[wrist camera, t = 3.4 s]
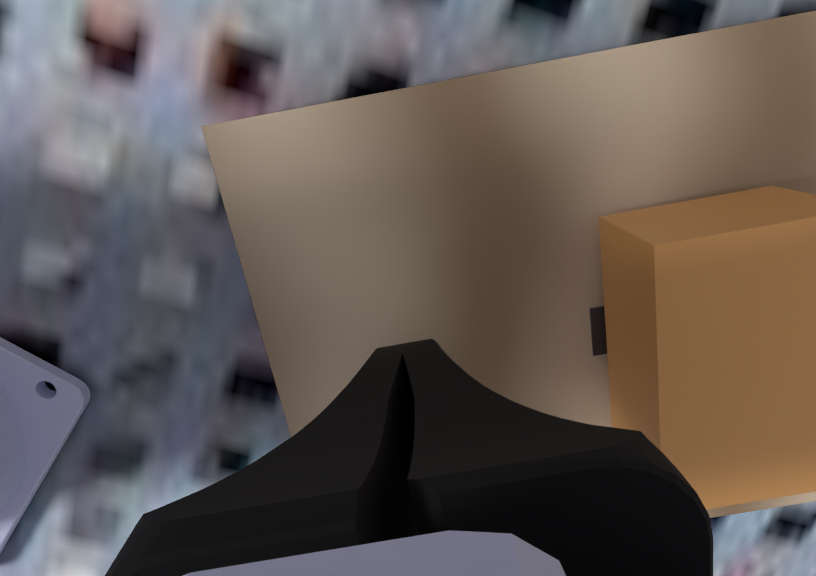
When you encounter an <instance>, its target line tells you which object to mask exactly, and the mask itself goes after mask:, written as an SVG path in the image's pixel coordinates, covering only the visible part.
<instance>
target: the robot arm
mask: <svg viewBox="0 0 816 576" xmlns="http://www.w3.org/2000/svg"><path fill="white" fill-rule="evenodd" d="M45 381H47V382H50V383H51V384H53V385H54V386H55V388H56V391H53V390H50V389H49V388H48V387H47V386H46V384H45ZM89 400H90V390H89V388H88V387H87V385H86V384H85V383H84V382H82V381H81V380H80V379H78V378H76V377H74V376H72V375H71V374H69V373H67V372H65V371H63V370H61V369H59V368H57V367H56V366H54V365H52V364H50V363H48V362H46V361H44V360H42V359H40V358H39V357H37V356H35V355H33V354H31V353H29V352H27V351H25V350H23V349H22V348H20V347H18V346H16V345H14V344H12V343H10V342H8V341H7V340H5V339H3V338H1V337H0V553H1V552H2V550H3V548H4V546H5V545H6V543H7V541H8V540H9V538H10V536H11V534H12V533H13V531H14V529H15V528H16V526H17V524H18V522H19V521H20V519H21V517H22V516H23V514H24V512H25V510H26V509H27V507H28V505H29V504H30V502H31V500H32V498H33V497H34V495H35V493H36V492H37V490H38V488H39V486H40V485H41V483H42V481H43V480H44V478H45V476H46V474H47V473H48V471H49V469H50V468H51V466H52V464H53V463H54V461H55V459H56V457H57V456H58V454H59V452H60V451H61V449H62V447H63V445H64V444H65V442H66V440H67V439H68V437H69V435H70V433H71V432H72V430H73V428H74V427H75V425H76V423H77V421H78V420H79V418H80V416H81V415H82V413H83V411H84V409H85V408H86V406H87V404H88V403H89ZM105 576H713V535H712V529H711V523H710V517H709V514H708V512H707V510H706V508H705V507H704V505H703V503H702V501H701V499H700V498H699V496H698V494H697V493H696V491H695V490H694V489H693V487H692V486H691V485H690V484H689V482H688V481H687V480H686V479H685V477H684V476H683V475H682V474H681V472H680V471H679V470H678V469H677V468H676V467H675V466H674V465H673V463H672V462H671V461H670V460H669V459H668V458H667V457H666V456H665V455H664V454H663V453H662V452H661V451H660V450H659V449H658V448H657V447H656V446H655V445H654V444H653V443H652V442H651V441H650V440H649V439H648V438H647V437H646V436H645V435H644V434H643V433H642V432H641V431H636V430H629V429H621V428H613V427H605V426H597V425H590V424H585V423H581V422H576V421H572V420H568V419H563V418H559V417H556V416H552V415H549V414H545V413H542V412H540V411H537V410H534V409H531V408H529V407H526V406H523V405H521V404H518V403H516V402H514V401H511V400H509V399H507V398H505V397H503V396H502V395H500V394H498V393H496V392H494V391H492V390H490V389H488V388H487V387H485V386H484V385H482V384H481V383H480V382H478V381H477V380H475V379H474V378H473V377H471V376H470V375H469V374H468V373H466V372H465V371H464V370H463V369H462V368H461V367H460V366H458V365H457V364H456V363H455V362H454V361H453V360H452V359H451V358H450V357H449V356H448V355H447V354H446V353H445V352H444V351H443V350H442V348H441V347H440V346H439V344H438V343H437V342H436V341H435V340H433V339H426V340H420V341H415V342H409V343H403V344H397V345H392V346H386V347H380V348H376V349H375V351H374V352H373V353H372V354H371V356H370V357H369V358H368V360H367V361H366V362H365V364H364V365H363V366H362V367H361V369H360V370H359V371H358V373H357V374H356V375H355V376H354V377H353V379H352V380H351V381H350V382H349V384H348V385H347V386H346V387H345V388H344V389H343V390H342V391H341V392H340V393H339V394H338V395H337V397H336V398H335V399H334V400H333V401H332V402H331V403H330V404H329V405H328V406H327V407H326V408H325V409H324V410H323V411H322V412H321V413H320V414H319V415H318V416H317V417H315V418H314V419H313V420H312V421H311V422H310V423H309V424H307V425H306V426H305V427H304V428H302V429H301V430H300V431H299V432H298V433H296V434H295V435H294V436H292V437H291V438H290V439H288V440H287V441H285V442H284V443H282V444H281V445H279V446H278V447H276V448H275V449H273V450H272V451H270V452H269V453H267V454H266V455H264V456H263V457H261V458H260V459H258V460H257V461H255V462H253V463H252V464H250V465H248V466H246V467H245V468H243V469H241V470H239V471H238V472H236V473H234V474H232V475H230V476H228V477H226V478H224V479H223V480H221V481H219V482H217V483H215V484H213V485H211V486H209V487H207V488H204V489H202V490H200V491H198V492H196V493H193V494H191V495H189V496H186V497H184V498H182V499H179V500H177V501H174V502H172V503H170V504H167V505H165V506H163V507H160V508H158V509H156V510H153V511H150V512H148V513H145V514H143V516H142V517H141V519H140V520H139V522H138V523H137V525H136V526H135V528H134V529H133V531H132V533H131V534H130V536H129V538H128V539H127V541H126V542H125V544H124V546H123V547H122V549H121V551H120V552H119V554H118V555H117V557H116V559H115V560H114V562H113V563H112V565H111V567H110V568H109V570H108V572H107V573H106V575H105Z"/></svg>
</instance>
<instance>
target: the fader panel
mask: <svg viewBox="0 0 816 576" xmlns="http://www.w3.org/2000/svg"><path fill="white" fill-rule="evenodd" d="M201 127H202V131H203V134H204V138H205V141H206V145H207V148H208V151H209V155H210V158H211V162H212V165H213V169H214V172H215V176H216V179H217V183H218V186H219V190H220V193H221V196H222V200H223V203H224V207H225V210H226V214H227V217H228V221H229V224H230V228H231V231H232V234H233V238H234V241H235V245H236V248H237V252H238V255H239V259H240V262H241V266H242V269H243V273H244V276H245V279H246V283H247V286H248V290H249V293H250V297H251V300H252V304H253V307H254V311H255V314H256V318H257V321H258V324H259V328H260V331H261V335H262V338H263V342H264V345H265V349H266V352H267V356H268V359H269V362H270V366H271V369H272V373H273V376H274V380H275V383H276V387H277V390H278V394H279V397H280V401H281V404H282V407H283V411H284V414H285V418H286V421H287V425H288V428H289V432H290V435H291V437H292V436H294V435H295V434H296V433H298V432H299V431H300V430H301V429H302V428H304V427H305V426H306V425H307V424H309V423H310V422H311V421H312V420H313V419H314V418H315V417H317V416H318V415H319V414H320V413H321V412H322V411H323V410H324V409H325V408H326V407H327V406H328V405H329V404H330V403H331V402H332V401H333V400H334V399H335V398H336V397H337V395H338V394H339V393H340V392H341V391H342V390H343V389H344V388H345V387H346V386H347V385H348V384H349V382H350V381H351V380H352V379H353V377H354V376H355V375H356V374H357V373H358V371H359V370H360V369H361V367H362V366H363V365H364V364H365V362H366V361H367V360H368V358H369V357H370V356H371V354H372V353H373V352H374V351H375V349H376V348H380V347H386V346H392V345H397V344H403V343H409V342H415V341H420V340H426V339H433V340H435V341H436V342H437V343H438V344H439V346H440V347H441V348H442V350H443V351H444V352H445V353H446V354H447V355H448V356H449V357H450V358H451V359H452V360H453V361H454V362H455V363H456V364H457V365H458V366H460V367H461V368H462V369H463V370H464V371H465V372H466V373H468V374H469V375H470V376H471V377H473V378H474V379H475V380H477V381H478V382H480V383H481V384H482V385H484V386H485V387H487V388H488V389H490V390H492V391H494V392H496V393H498V394H500V395H502V396H503V397H505V398H507V399H509V400H511V401H514V402H516V403H518V404H521V405H523V406H526V407H529V408H531V409H534V410H537V411H540V412H542V413H545V414H549V415H552V416H556V417H559V418H563V419H568V420H572V421H576V422H581V423H585V424H590V425H597V426H605V427H612V419H611V404H610V388H609V372H608V357H607V341H606V325H605V310H604V294H603V278H602V262H601V247H600V231H599V217H600V216H605V215H611V214H616V213H622V212H628V211H633V210H639V209H644V208H650V207H655V206H661V205H667V204H672V203H678V202H683V201H689V200H694V199H700V198H706V197H711V196H717V195H722V194H728V193H733V192H739V191H745V190H750V189H756V188H761V187H767V186H775V187H780V188H785V189H790V190H795V191H800V192H805V193H810V194H815V195H816V11H811V12H805V13H800V14H795V15H789V16H784V17H779V18H773V19H768V20H763V21H758V22H752V23H747V24H742V25H736V26H731V27H726V28H720V29H715V30H710V31H705V32H699V33H694V34H689V35H683V36H678V37H673V38H667V39H662V40H657V41H652V42H646V43H641V44H636V45H630V46H625V47H620V48H614V49H609V50H604V51H598V52H593V53H588V54H583V55H577V56H572V57H567V58H561V59H556V60H551V61H545V62H540V63H535V64H530V65H524V66H519V67H514V68H508V69H503V70H498V71H492V72H487V73H482V74H476V75H471V76H466V77H461V78H455V79H450V80H445V81H439V82H434V83H429V84H423V85H418V86H413V87H408V88H402V89H397V90H392V91H386V92H381V93H376V94H370V95H365V96H360V97H354V98H349V99H344V100H339V101H333V102H328V103H323V104H317V105H312V106H307V107H301V108H296V109H291V110H286V111H280V112H275V113H270V114H264V115H259V116H254V117H248V118H243V119H238V120H233V121H227V122H222V123H217V124H211V125H206V126H201ZM811 501H816V492H810V493H803V494H797V495H791V496H785V497H779V498H773V499H767V500H760V501H754V502H748V503H742V504H736V505H730V506H724V507H717V508H711V509H706V510H707V512H708V514H709V517H710V518H713V517H719V516H725V515H731V514H737V513H743V512H750V511H756V510H762V509H768V508H774V507H780V506H787V505H793V504H799V503H805V502H811Z"/></svg>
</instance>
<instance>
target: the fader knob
mask: <svg viewBox="0 0 816 576" xmlns="http://www.w3.org/2000/svg"><path fill="white" fill-rule="evenodd" d="M599 231H600V247H601V262H602V278H603V294H604V310H605V325H606V341H607V357H608V372H609V388H610V404H611V419H612V427H613V428H621V429H629V430H636V431H641V432H642V433H643V434H644V435H645V436H646V437H647V438H648V439H649V440H650V441H651V442H652V443H653V444H654V445H655V446H656V447H657V448H658V449H659V450H660V451H661V452H662V453H663V454H664V455H665V456H666V457H667V458H668V459H669V460H670V461H671V462H672V463H673V465H674V466H675V467H676V468H677V469H678V470H679V471H680V472H681V474H682V475H683V476H684V477H685V479H686V480H687V481H688V482H689V484H690V485H691V486H692V487H693V489H694V490H695V491H696V493H697V494H698V496H699V498H700V499H701V501H702V503H703V505H704V507H705V508H706V509H711V508H717V507H724V506H730V505H736V504H742V503H748V502H754V501H760V500H767V499H773V498H779V497H785V496H791V495H797V494H803V493H810V492H816V195H815V194H810V193H805V192H800V191H795V190H790V189H785V188H780V187H775V186H767V187H761V188H756V189H750V190H745V191H739V192H733V193H728V194H722V195H717V196H711V197H706V198H700V199H694V200H689V201H683V202H678V203H672V204H667V205H661V206H655V207H650V208H644V209H639V210H633V211H628V212H622V213H616V214H611V215H605V216H600V217H599Z"/></svg>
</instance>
